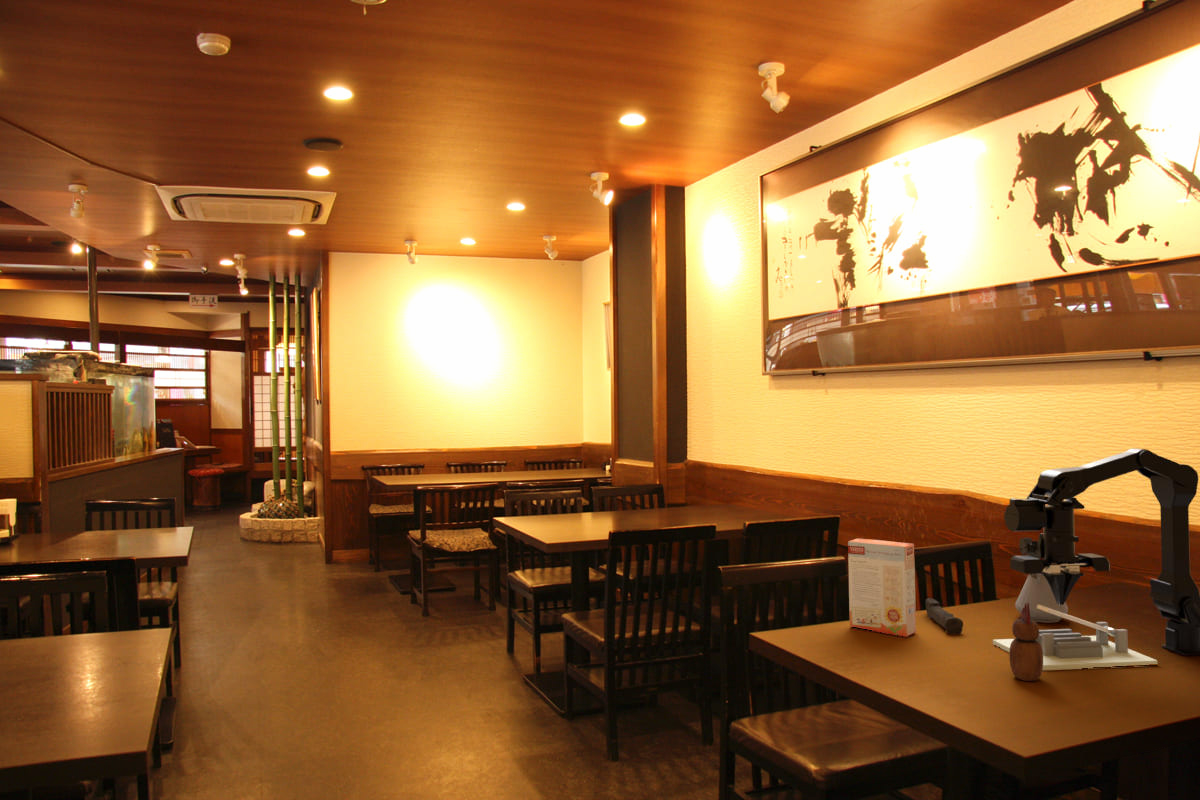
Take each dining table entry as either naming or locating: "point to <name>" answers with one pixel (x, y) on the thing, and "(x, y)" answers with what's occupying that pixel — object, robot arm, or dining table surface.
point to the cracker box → (882, 586)
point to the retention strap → (1079, 621)
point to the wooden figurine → (1026, 648)
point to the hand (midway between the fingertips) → (1060, 604)
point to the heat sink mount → (1083, 649)
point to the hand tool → (943, 617)
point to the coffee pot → (1039, 599)
